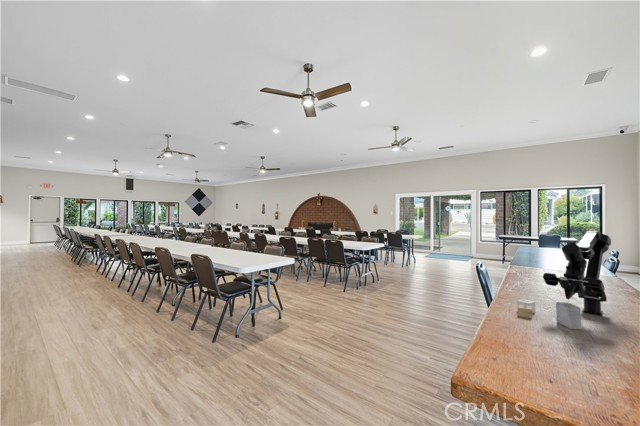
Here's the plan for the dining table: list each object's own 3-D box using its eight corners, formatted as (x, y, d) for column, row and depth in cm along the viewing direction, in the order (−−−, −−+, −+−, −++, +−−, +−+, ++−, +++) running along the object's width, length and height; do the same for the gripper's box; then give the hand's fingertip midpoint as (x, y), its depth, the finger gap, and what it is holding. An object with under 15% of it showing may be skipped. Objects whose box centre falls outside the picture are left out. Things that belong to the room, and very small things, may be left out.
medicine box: (582, 329, 109) (581, 307, 109) (568, 329, 110) (568, 307, 110) (568, 322, 117) (567, 302, 117) (556, 322, 118) (555, 301, 118)
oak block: (519, 313, 129) (518, 304, 130) (532, 315, 126) (532, 306, 126) (518, 316, 126) (517, 307, 126) (532, 318, 122) (531, 309, 123)
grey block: (523, 309, 135) (523, 299, 135) (535, 312, 130) (535, 301, 130) (517, 311, 132) (517, 300, 133) (529, 314, 128) (529, 303, 128)
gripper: (610, 284, 115) (603, 316, 109) (554, 277, 131) (545, 304, 124) (604, 267, 111) (596, 299, 105) (547, 261, 127) (537, 289, 120)
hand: (567, 298), depth 114 cm, fingers closed
